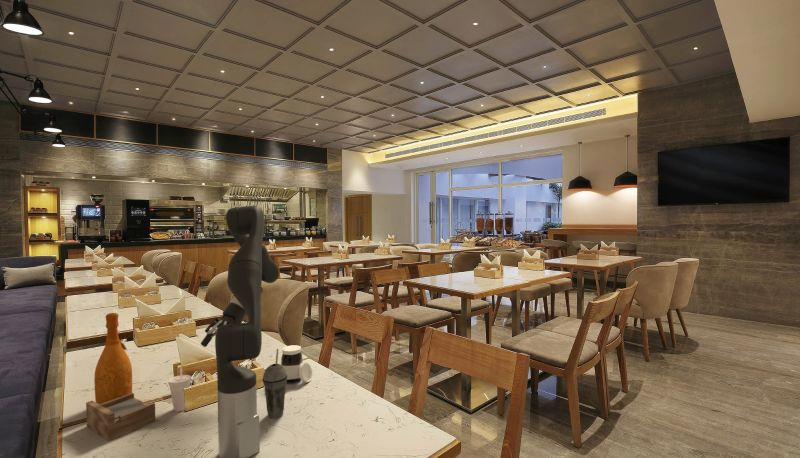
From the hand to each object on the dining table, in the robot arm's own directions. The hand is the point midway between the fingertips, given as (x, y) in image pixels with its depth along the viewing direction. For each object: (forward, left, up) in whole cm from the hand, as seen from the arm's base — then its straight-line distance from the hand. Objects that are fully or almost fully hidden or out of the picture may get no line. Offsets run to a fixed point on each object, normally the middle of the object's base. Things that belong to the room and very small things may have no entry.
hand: (210, 347), depth 131 cm
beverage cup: (-29, -3, -17) cm, 34 cm away
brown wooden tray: (+6, +24, -16) cm, 30 cm away
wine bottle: (+21, +20, -17) cm, 34 cm away
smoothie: (0, +10, -17) cm, 20 cm away
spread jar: (-15, -25, -17) cm, 33 cm away
